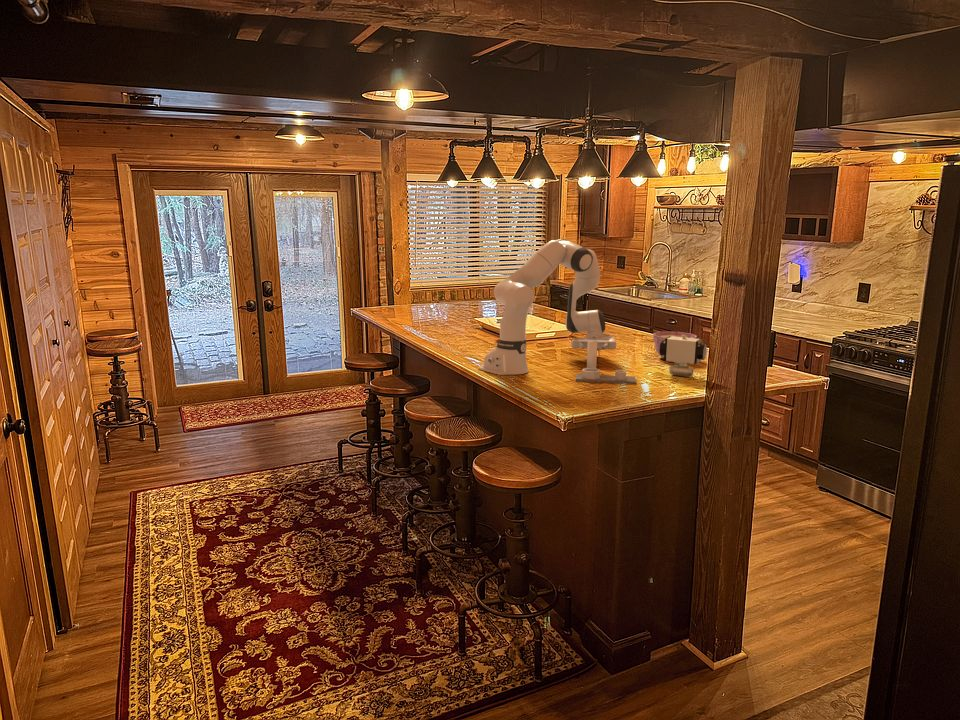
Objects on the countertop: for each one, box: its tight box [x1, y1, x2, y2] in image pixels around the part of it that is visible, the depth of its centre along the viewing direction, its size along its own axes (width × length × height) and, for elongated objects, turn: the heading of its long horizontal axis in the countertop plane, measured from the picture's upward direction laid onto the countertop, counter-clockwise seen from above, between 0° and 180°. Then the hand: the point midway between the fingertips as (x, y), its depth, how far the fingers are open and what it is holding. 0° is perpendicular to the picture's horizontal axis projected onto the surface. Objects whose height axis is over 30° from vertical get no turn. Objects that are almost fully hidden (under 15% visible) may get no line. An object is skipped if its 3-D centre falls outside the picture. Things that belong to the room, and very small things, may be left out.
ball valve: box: [659, 335, 708, 378], centre depth 280 cm, size 18×8×18 cm, turn 59°
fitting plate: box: [575, 367, 637, 385], centre depth 273 cm, size 24×9×4 cm, turn 79°
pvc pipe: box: [586, 340, 598, 369], centre depth 285 cm, size 4×4×14 cm
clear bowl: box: [652, 331, 698, 358], centre depth 314 cm, size 20×20×12 cm
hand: (593, 347), depth 296 cm, fingers open, 8 cm apart
